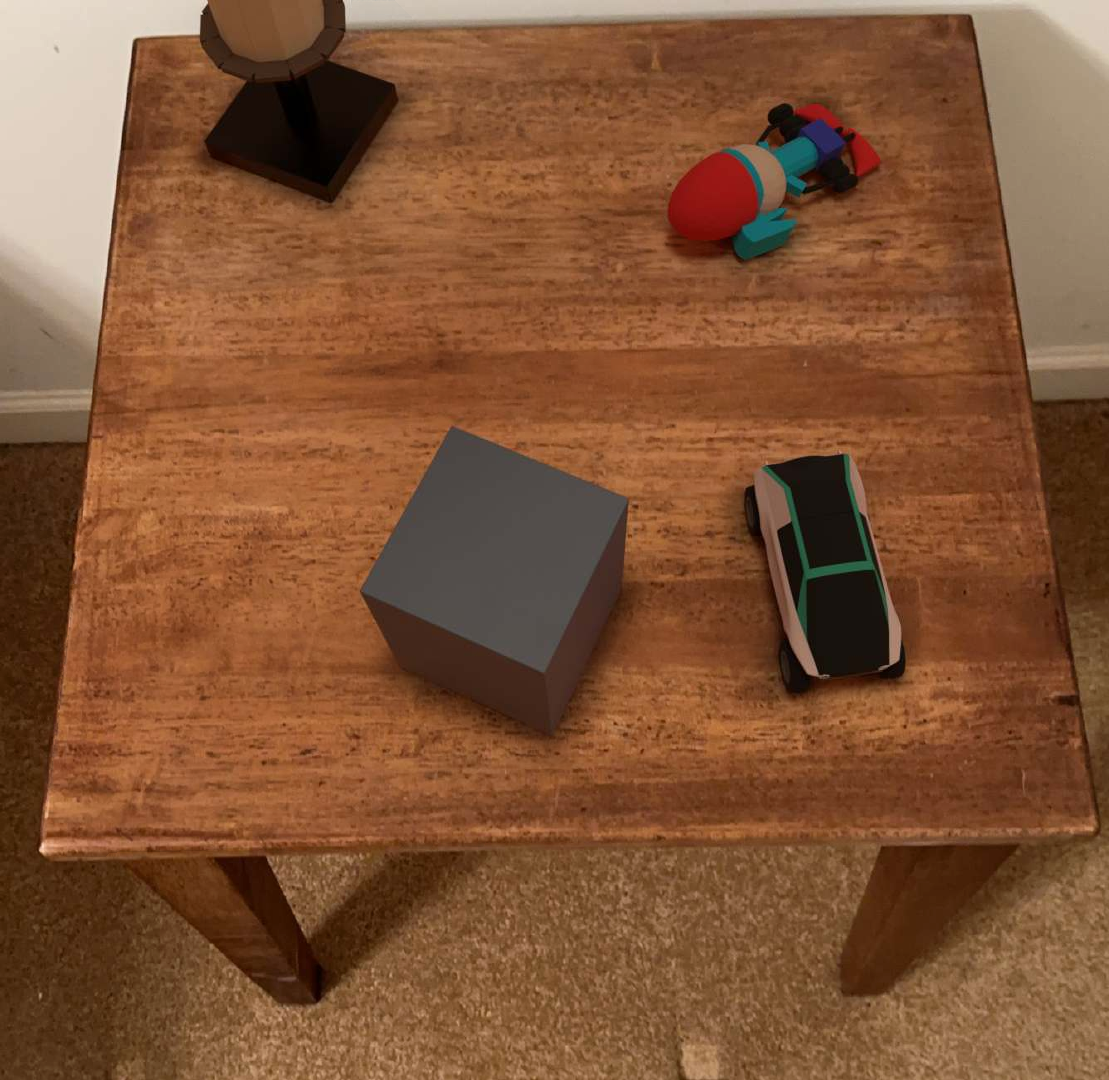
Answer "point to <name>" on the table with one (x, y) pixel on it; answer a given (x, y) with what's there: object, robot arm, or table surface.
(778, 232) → the toy figure
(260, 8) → the hat
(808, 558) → the toy car
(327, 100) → the hat stand
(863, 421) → the table surface
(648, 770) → the table surface
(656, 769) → the table surface
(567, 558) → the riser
